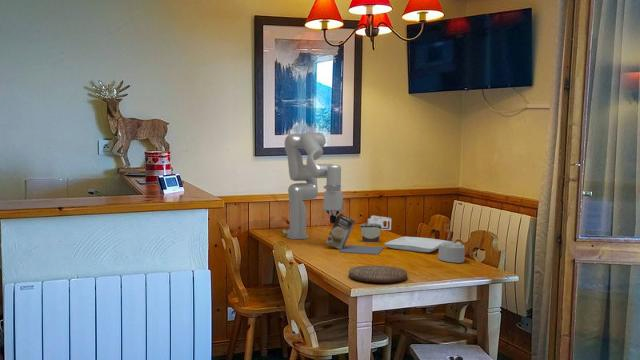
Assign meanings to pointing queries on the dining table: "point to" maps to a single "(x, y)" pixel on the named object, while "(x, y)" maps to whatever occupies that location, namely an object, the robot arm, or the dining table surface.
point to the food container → (370, 232)
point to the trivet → (378, 274)
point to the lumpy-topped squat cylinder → (452, 252)
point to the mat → (361, 249)
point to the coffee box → (340, 231)
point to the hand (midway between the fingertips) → (333, 223)
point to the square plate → (415, 244)
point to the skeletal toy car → (380, 221)
